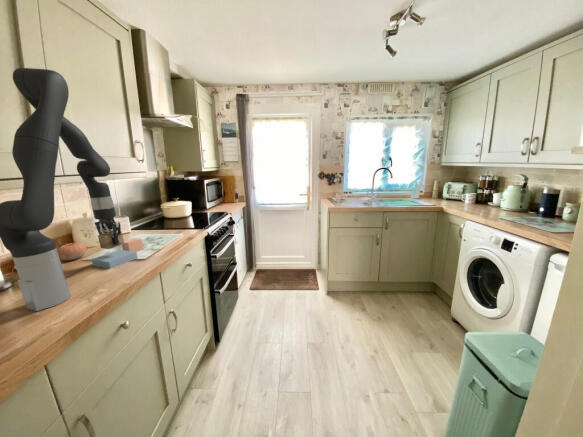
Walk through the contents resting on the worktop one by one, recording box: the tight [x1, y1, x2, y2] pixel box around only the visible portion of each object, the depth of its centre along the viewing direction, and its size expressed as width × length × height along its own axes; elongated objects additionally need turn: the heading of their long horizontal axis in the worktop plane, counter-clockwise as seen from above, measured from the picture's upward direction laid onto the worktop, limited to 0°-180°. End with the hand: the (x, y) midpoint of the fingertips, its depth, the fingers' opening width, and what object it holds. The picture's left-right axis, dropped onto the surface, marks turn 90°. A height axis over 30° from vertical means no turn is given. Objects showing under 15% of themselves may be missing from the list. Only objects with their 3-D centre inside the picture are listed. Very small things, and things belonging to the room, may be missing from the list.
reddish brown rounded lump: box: [57, 242, 88, 261], centre depth 111 cm, size 11×11×8 cm
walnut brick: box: [97, 230, 125, 250], centre depth 103 cm, size 7×5×6 cm
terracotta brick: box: [121, 237, 144, 253], centre depth 118 cm, size 7×5×6 cm
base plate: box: [91, 249, 138, 270], centre depth 105 cm, size 12×12×3 cm
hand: (112, 243), depth 104 cm, fingers closed on walnut brick, 5 cm apart
